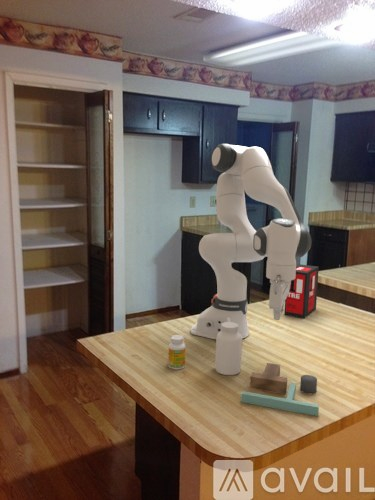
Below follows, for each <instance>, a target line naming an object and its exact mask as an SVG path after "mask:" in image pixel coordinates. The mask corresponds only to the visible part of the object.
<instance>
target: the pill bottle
mask: <svg viewBox="0 0 375 500" xmlns="http://www.w3.org/2000/svg"><path fill="white" fill-rule="evenodd" d="M215 340H216V342H215V365H214V367H215V368H214V369H215V371H216V372H217V373H218V374H221V375H225V376H234V375H238V374H239V373H241V369H242V368H241V367H242V350H243V338H242V336H241V334H240V333H239V332H238V324H236V323H233V322H224V323H222V324H221V331H220V332H219V333H218V334H217V337H216V339H215Z"/></svg>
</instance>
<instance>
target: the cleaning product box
mask: <svg viewBox="0 0 375 500" xmlns="http://www.w3.org/2000/svg"><path fill="white" fill-rule="evenodd" d="M319 269H320V267H319V266H318V265H317V266H315V265H307V264H301V263H299V264H296V275H295V279H294V280H291V284H290V290H289V294H288V296H287V298H286V300H285V302H284V311H283V312H284V314H283V315H284V316H288V317H293V318H299V319H303V320H304V319H306V318H307V317H308V316H309V315H311V314H312V313H313V312H314V311H316V309H317V299H318V298H317V297H318V285H319V284H318V283H319V282H318V281H319V272H320V271H319Z"/></svg>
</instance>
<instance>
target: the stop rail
mask: <svg viewBox="0 0 375 500" xmlns="http://www.w3.org/2000/svg"><path fill="white" fill-rule="evenodd" d="M296 385H297V383H296V382H290V383H289V388H288V391H287V393H286V394H287V395H286V397H285V398H284V397H276V396H272V395H266V394H261V393H254V392H249V391H243V390H242V391H241V394H240V402H241V403H244V404H251V405H256V406H260V407H265V408H267V407H268V408H271V409H276V410H283V411H287V412H294V413H298V414H299V413H300V414H304V415H309V416H314V415H315V416H316V417H319V410H320V409H319V408H320V404H317V403H312V402H305V401H301V400H295V395H296V392H297V391H296V390H297V389H296V387H297V386H296Z"/></svg>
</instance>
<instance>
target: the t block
mask: <svg viewBox="0 0 375 500" xmlns="http://www.w3.org/2000/svg"><path fill="white" fill-rule="evenodd" d="M280 374H281V365H280V364H277V363H271V362H270V363H269V362H267V363H266V365H265V368H264V369H263V373H260V372H251V374H250V379H249V380H250V382H249V389H252V390H253V389H254V390H259V391H265V392H271V393H277V394H280V395H281V394H283V395H286V394H287V387H288V377H284V376H281V375H280Z"/></svg>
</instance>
